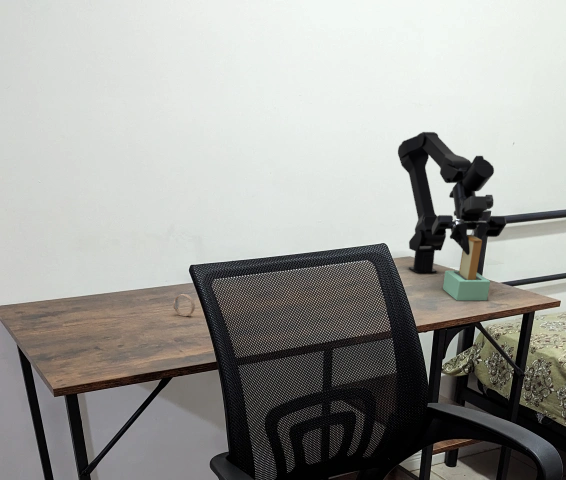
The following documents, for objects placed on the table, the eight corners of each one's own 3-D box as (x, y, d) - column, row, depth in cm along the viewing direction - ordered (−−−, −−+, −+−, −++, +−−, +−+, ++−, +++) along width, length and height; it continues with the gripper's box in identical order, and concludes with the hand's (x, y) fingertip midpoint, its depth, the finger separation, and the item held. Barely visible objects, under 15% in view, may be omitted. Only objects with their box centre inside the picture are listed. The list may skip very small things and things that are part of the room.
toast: (458, 274, 197) (464, 234, 191) (465, 274, 197) (472, 234, 191) (467, 281, 190) (474, 240, 185) (475, 281, 190) (482, 240, 185)
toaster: (442, 288, 200) (445, 269, 198) (475, 288, 201) (478, 269, 199) (456, 300, 190) (459, 280, 187) (491, 300, 191) (494, 280, 189)
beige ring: (178, 313, 172) (177, 292, 170) (196, 315, 171) (195, 294, 168) (173, 316, 170) (172, 294, 168) (191, 318, 169) (190, 297, 166)
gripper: (441, 181, 184) (448, 235, 180) (510, 183, 186) (519, 236, 182) (428, 209, 194) (434, 260, 191) (494, 210, 197) (501, 261, 193)
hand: (472, 254), depth 189 cm, fingers closed on toast, 2 cm apart
